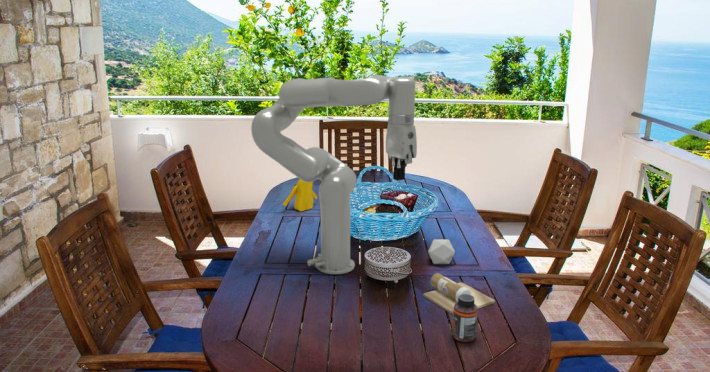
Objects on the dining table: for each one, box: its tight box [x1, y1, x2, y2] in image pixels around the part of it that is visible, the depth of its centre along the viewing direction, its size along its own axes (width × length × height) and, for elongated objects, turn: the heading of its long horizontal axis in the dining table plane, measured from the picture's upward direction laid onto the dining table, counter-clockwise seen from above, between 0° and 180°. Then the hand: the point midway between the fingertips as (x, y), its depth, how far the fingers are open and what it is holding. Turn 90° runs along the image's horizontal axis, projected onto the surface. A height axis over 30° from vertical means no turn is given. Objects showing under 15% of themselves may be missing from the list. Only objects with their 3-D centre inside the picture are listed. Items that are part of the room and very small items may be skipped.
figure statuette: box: [282, 178, 318, 212], centre depth 240 cm, size 18×8×22 cm, turn 131°
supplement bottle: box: [451, 294, 479, 343], centre depth 146 cm, size 6×6×11 cm
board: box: [422, 281, 496, 315], centre depth 167 cm, size 15×14×1 cm
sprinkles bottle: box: [429, 272, 471, 302], centre depth 168 cm, size 5×5×13 cm
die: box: [427, 238, 456, 265], centre depth 192 cm, size 8×9×10 cm
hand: (399, 179), depth 175 cm, fingers closed
